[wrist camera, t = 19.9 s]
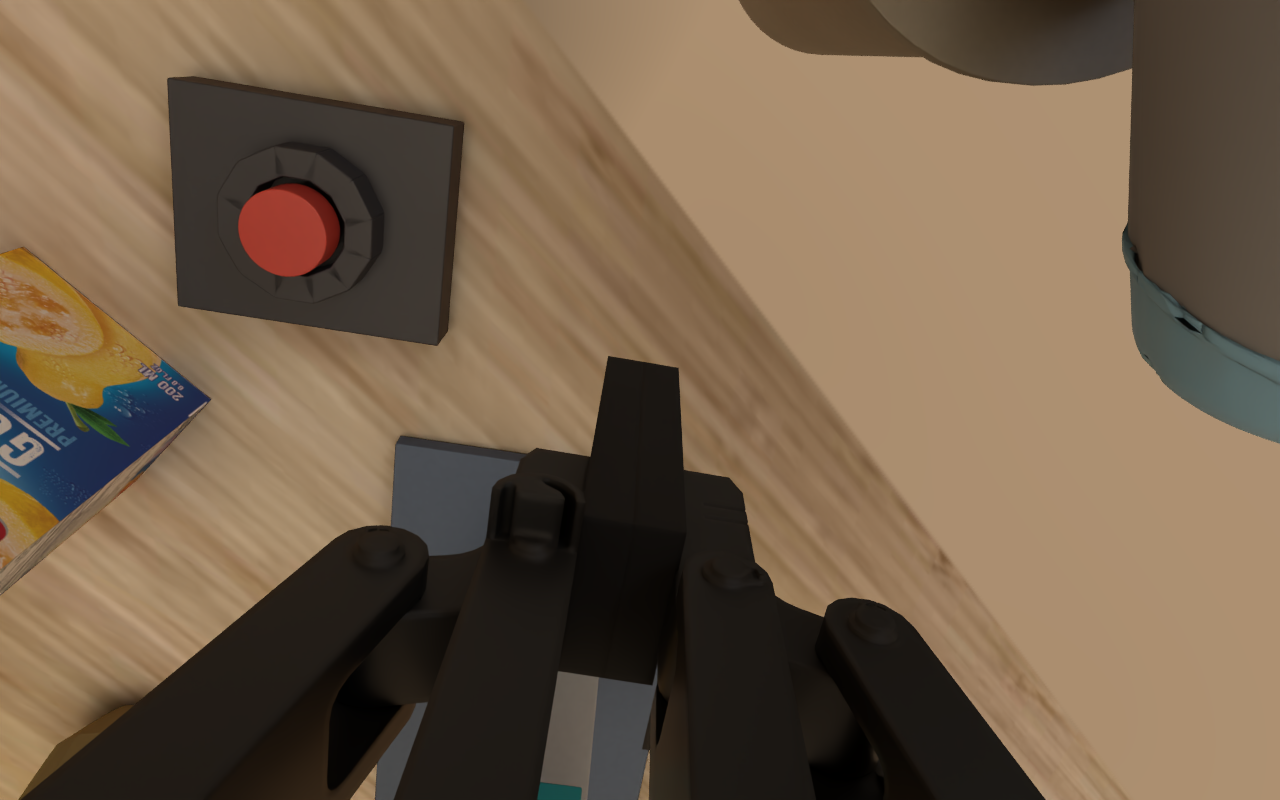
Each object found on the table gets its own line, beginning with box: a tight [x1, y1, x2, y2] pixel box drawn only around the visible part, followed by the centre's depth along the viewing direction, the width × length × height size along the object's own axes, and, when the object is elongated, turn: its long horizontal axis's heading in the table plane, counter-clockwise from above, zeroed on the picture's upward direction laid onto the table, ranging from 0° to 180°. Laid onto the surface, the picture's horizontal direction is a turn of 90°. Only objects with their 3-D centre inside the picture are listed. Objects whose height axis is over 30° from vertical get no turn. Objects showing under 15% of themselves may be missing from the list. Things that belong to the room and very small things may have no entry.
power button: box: [238, 183, 340, 277], centre depth 35 cm, size 4×4×2 cm
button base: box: [167, 76, 464, 346], centre depth 38 cm, size 12×10×4 cm
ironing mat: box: [375, 436, 658, 800], centre depth 49 cm, size 16×26×1 cm, turn 171°
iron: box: [537, 671, 599, 800], centre depth 38 cm, size 16×8×10 cm
